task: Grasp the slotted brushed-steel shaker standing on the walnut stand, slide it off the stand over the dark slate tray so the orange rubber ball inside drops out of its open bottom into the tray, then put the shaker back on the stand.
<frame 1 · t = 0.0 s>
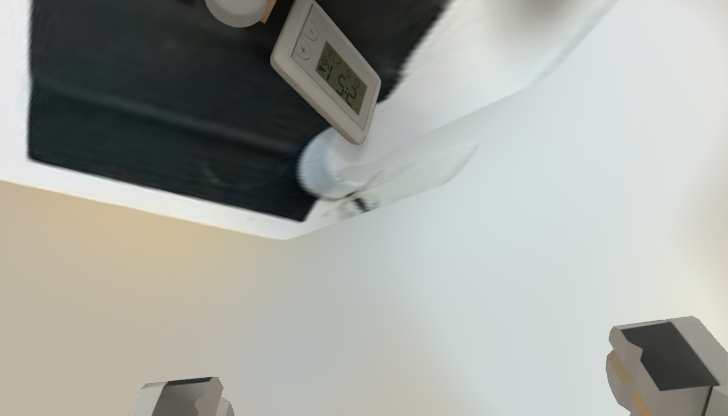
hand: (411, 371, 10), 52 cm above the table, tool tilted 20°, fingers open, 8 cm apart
digital clock: (330, 47, 62), on the table
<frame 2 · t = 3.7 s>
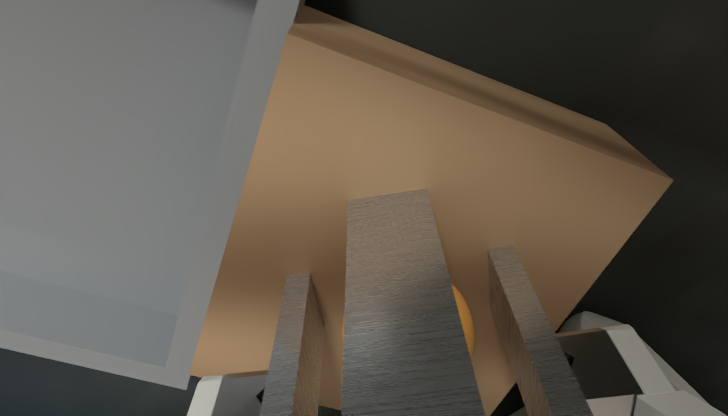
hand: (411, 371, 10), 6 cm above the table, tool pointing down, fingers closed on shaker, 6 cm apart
ball: (407, 331, 11), point 5 cm above the table, touching stand
tray: (41, 104, 14), on the table
stand: (393, 217, 16), on the table
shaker: (402, 289, 13), point 3 cm above the table, touching gripper, stand
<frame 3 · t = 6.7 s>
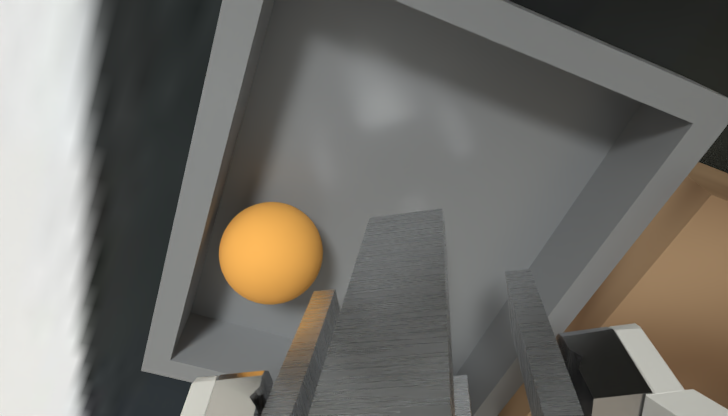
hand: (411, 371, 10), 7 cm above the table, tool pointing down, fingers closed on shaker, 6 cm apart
ball: (271, 252, 15), point 2 cm above the table, tilted 135°, touching tray
tray: (390, 212, 16), on the table
stand: (656, 298, 18), on the table
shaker: (422, 310, 13), point 4 cm above the table, tilted 12°, touching gripper
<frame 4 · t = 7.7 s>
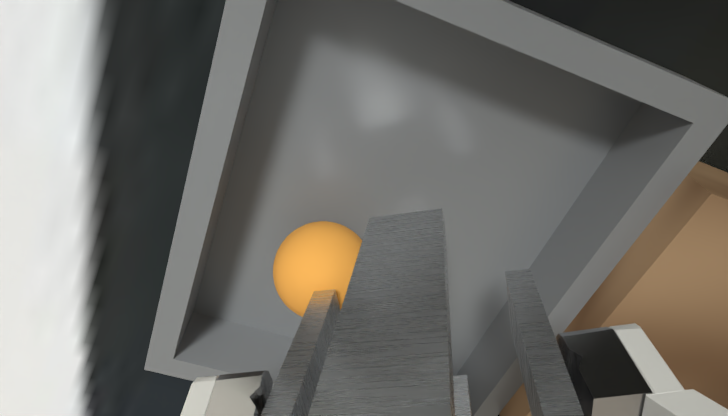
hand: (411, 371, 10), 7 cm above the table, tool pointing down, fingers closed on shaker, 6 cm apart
ball: (323, 270, 15), point 2 cm above the table, tilted 75°, touching tray
tray: (391, 211, 16), on the table
stand: (656, 297, 18), on the table
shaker: (422, 310, 13), point 4 cm above the table, tilted 12°, touching gripper
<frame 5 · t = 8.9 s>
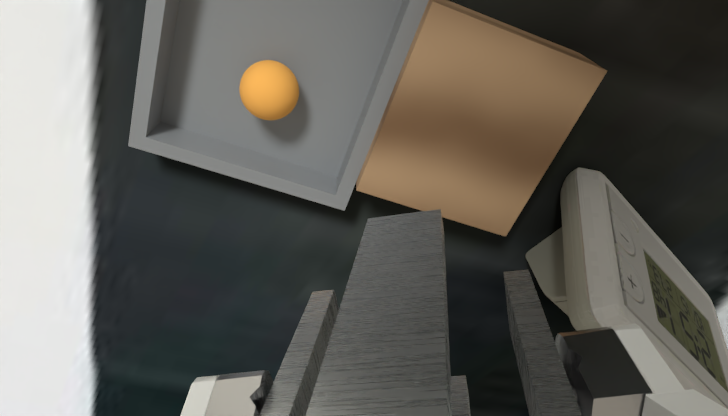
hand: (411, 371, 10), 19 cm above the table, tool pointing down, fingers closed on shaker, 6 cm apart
ball: (269, 90, 25), point 2 cm above the table, touching tray
tray: (279, 45, 26), on the table
stand: (461, 110, 28), on the table
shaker: (421, 310, 13), point 17 cm above the table, tilted 12°, touching gripper
digital clock: (611, 252, 33), on the table
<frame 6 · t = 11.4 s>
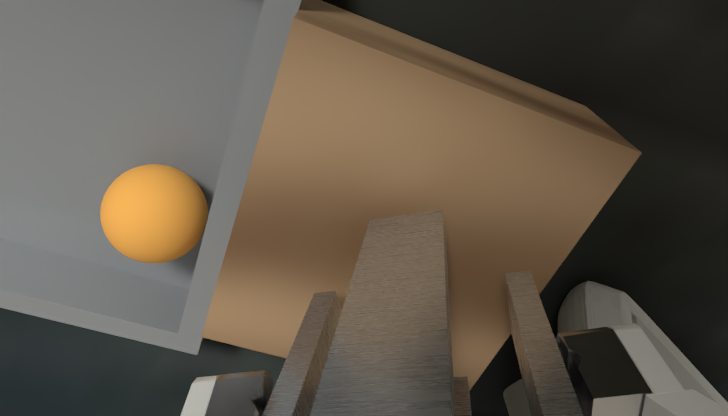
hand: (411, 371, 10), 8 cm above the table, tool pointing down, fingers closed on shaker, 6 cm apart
ball: (156, 213, 15), point 2 cm above the table, tilted 129°, touching tray
tray: (65, 87, 15), on the table
stand: (389, 194, 17), on the table
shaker: (422, 311, 13), point 5 cm above the table, tilted 12°, touching gripper
digital clock: (630, 388, 22), on the table
when the fingers open (7 cm above the table, at t = 12.0 s): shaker stays where it is, resting on stand.
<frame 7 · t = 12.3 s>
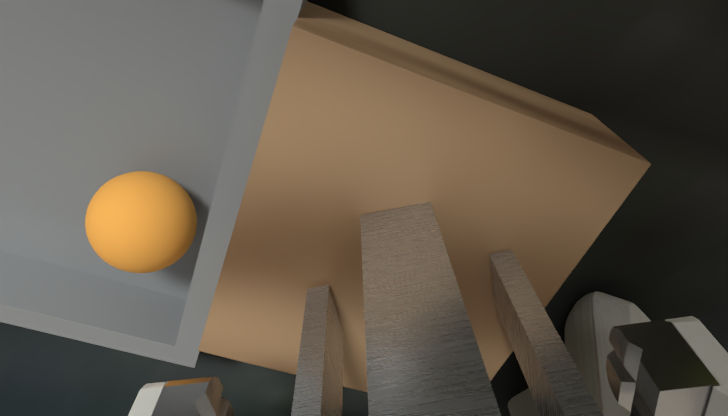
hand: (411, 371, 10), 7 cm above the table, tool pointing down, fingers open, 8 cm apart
ball: (143, 221, 15), point 2 cm above the table, tilted 119°, touching tray
tray: (59, 95, 14), on the table
stand: (391, 203, 16), on the table
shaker: (413, 296, 14), point 4 cm above the table, touching stand
digital clock: (637, 398, 22), on the table
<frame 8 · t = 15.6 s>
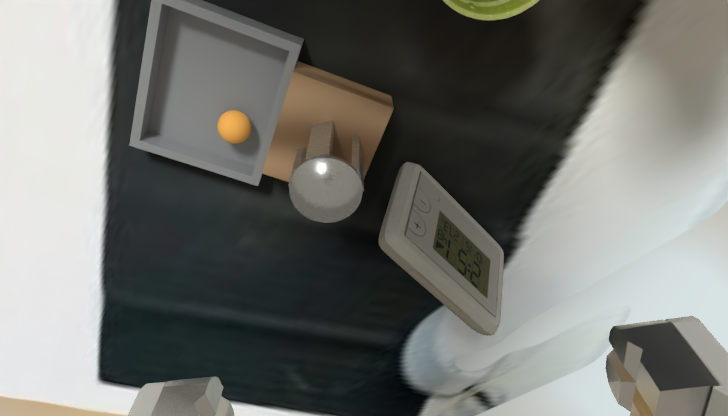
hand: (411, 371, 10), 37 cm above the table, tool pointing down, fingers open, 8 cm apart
ball: (234, 127, 45), point 2 cm above the table, tilted 84°, touching tray
tray: (218, 89, 45), on the table
stand: (327, 127, 47), on the table
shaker: (330, 151, 44), point 3 cm above the table, touching stand
digital clock: (439, 217, 53), on the table
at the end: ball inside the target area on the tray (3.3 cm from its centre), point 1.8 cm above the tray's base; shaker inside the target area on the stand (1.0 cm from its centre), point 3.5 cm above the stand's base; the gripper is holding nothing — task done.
